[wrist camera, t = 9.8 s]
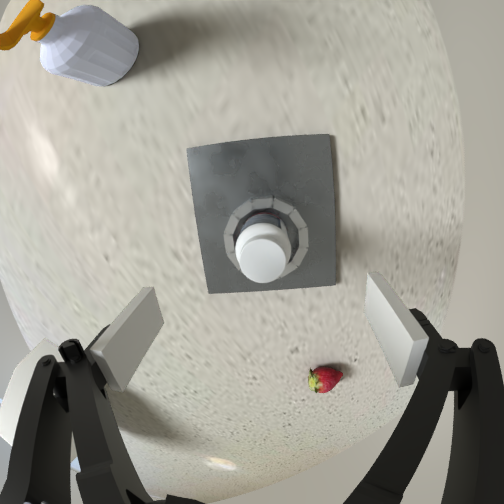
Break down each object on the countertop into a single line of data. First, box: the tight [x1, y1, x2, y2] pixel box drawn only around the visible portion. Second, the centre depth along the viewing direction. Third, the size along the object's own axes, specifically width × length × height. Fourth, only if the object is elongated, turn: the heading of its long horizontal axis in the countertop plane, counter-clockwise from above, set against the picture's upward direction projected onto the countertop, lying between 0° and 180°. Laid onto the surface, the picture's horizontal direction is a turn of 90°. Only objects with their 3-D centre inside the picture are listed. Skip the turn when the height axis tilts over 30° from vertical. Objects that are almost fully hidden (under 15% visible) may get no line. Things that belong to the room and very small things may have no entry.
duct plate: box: [187, 134, 336, 294], centre depth 30 cm, size 18×16×3 cm
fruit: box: [308, 367, 343, 393], centre depth 36 cm, size 4×6×5 cm
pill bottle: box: [235, 212, 291, 283], centre depth 27 cm, size 5×5×9 cm
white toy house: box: [0, 338, 77, 463], centre depth 35 cm, size 19×15×25 cm
